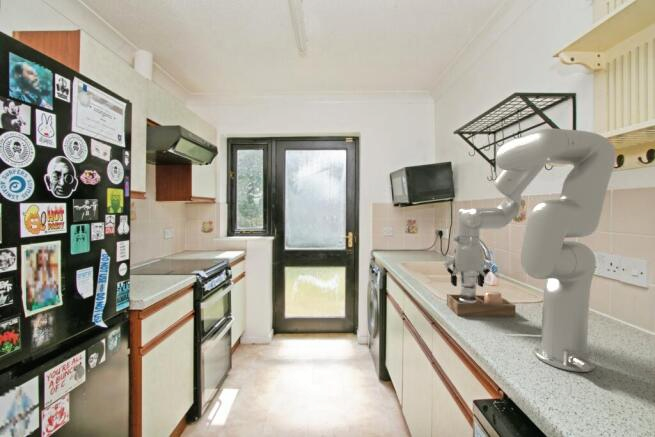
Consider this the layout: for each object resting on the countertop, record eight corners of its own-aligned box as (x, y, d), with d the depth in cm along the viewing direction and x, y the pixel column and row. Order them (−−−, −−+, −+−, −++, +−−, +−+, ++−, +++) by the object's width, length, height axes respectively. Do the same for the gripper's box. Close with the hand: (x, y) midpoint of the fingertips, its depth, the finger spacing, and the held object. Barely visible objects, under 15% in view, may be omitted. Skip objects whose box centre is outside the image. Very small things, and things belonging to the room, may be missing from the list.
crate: (515, 318, 109) (515, 305, 109) (457, 317, 110) (457, 303, 110) (498, 308, 121) (499, 295, 121) (446, 306, 122) (447, 294, 122)
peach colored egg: (503, 314, 112) (504, 295, 112) (488, 313, 113) (488, 295, 112) (496, 308, 118) (496, 291, 118) (481, 308, 118) (481, 290, 118)
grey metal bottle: (468, 307, 120) (469, 256, 119) (481, 313, 113) (482, 260, 112) (454, 308, 118) (455, 257, 117) (466, 314, 111) (468, 260, 110)
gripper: (448, 241, 111) (447, 287, 112) (496, 242, 110) (495, 288, 111) (441, 239, 119) (440, 282, 119) (487, 240, 118) (486, 283, 118)
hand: (467, 285), depth 115 cm, fingers open, 9 cm apart
